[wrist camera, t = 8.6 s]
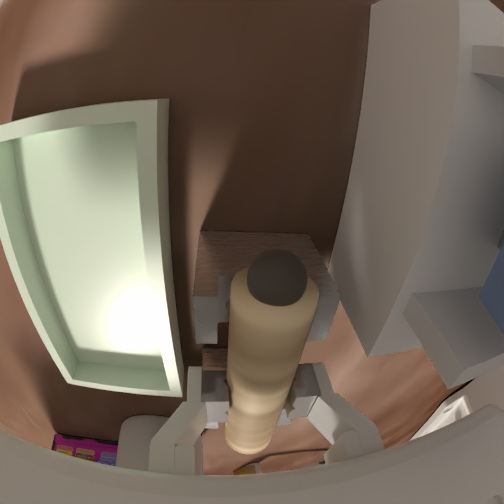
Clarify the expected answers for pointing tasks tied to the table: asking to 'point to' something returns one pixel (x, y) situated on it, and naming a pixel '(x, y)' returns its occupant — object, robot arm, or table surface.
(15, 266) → the tray
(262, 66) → the table surface
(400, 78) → the grey card holder
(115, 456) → the candy bar box
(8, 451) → the robot arm
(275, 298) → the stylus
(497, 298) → the blue box
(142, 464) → the cup
